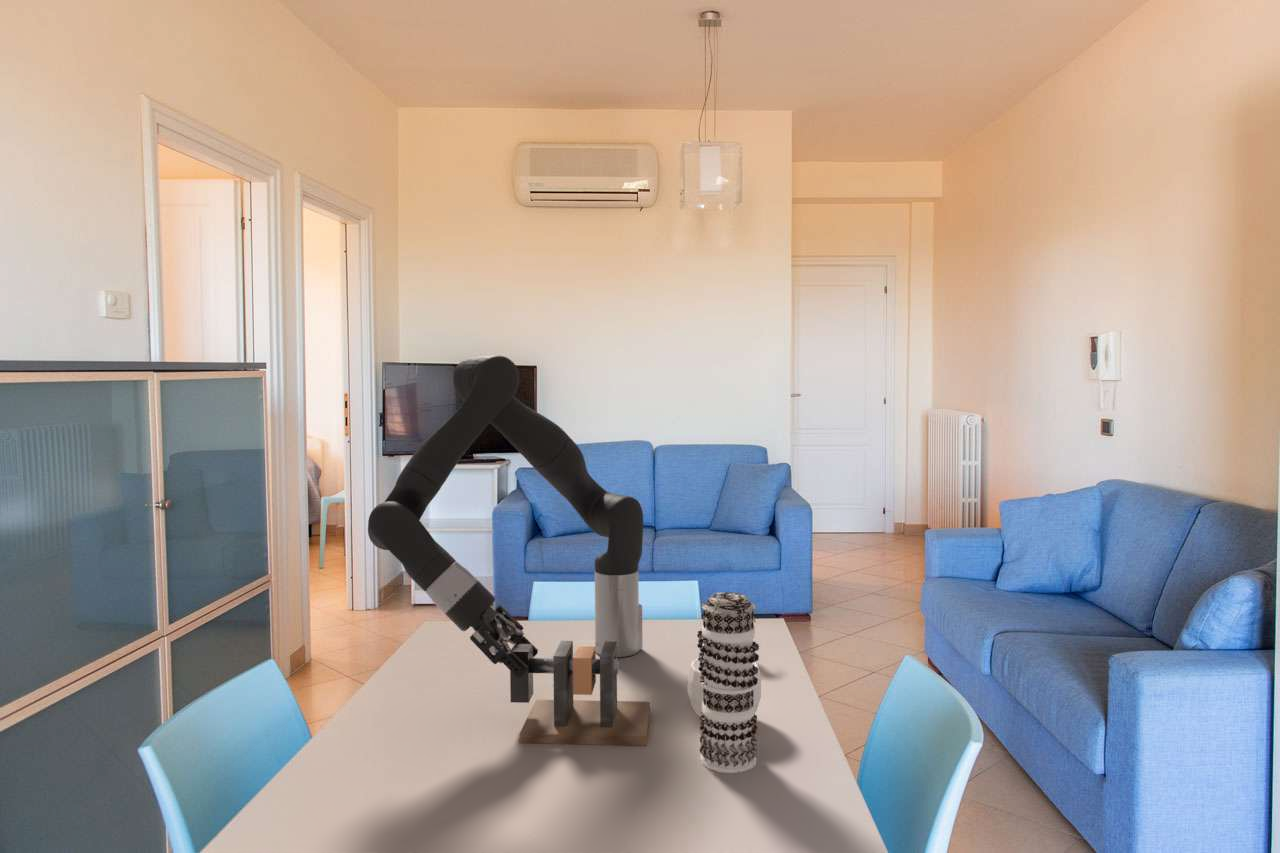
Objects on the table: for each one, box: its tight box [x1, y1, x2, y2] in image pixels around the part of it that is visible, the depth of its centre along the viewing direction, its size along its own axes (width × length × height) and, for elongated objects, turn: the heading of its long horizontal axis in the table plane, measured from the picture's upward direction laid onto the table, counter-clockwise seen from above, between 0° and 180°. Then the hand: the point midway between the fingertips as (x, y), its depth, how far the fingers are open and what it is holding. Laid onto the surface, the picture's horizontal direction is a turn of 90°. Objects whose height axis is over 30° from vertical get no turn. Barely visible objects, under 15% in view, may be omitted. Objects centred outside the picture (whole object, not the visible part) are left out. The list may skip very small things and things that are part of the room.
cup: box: [687, 656, 762, 718], centre depth 139 cm, size 12×12×10 cm
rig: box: [519, 640, 651, 746], centre depth 137 cm, size 20×14×13 cm
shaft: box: [509, 643, 619, 704], centre depth 138 cm, size 18×4×8 cm, turn 86°
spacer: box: [573, 645, 597, 696], centre depth 137 cm, size 3×6×6 cm, turn 176°
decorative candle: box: [696, 591, 760, 774], centre depth 124 cm, size 9×9×25 cm
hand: (529, 664), depth 138 cm, fingers open, 8 cm apart
